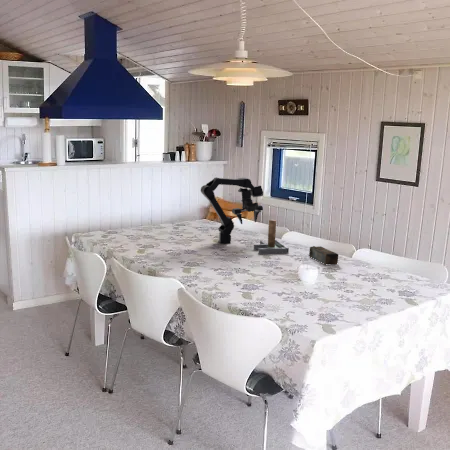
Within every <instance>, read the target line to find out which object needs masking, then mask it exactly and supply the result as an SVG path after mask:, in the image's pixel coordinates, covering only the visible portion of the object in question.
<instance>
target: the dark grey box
mask: <svg viewBox="0 0 450 450" xmlns="http://www.w3.org/2000/svg"><path fill="white" fill-rule="evenodd" d="M308 251H309V253H308V257H309V256H310V257H309V258H311V257H312V258H311V259H313V258H314V259H313V260H315V259H316V260H315V261H317V260H318V261H317V262H319V261H320V262H319V263H321V262H322V263H321V264H323V263H324V264H323V265H325V264H337V263H338V262H339V253H336V252H335V251H331V250H330V249H328V248H325V247H324V246H314V245H313V246H309V250H308ZM337 265H338V264H337Z"/></svg>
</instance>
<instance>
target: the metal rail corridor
mask: <svg viewBox="0 0 450 450" xmlns="http://www.w3.org/2000/svg"><path fill="white" fill-rule="evenodd" d="M275 245H276V246H277V247H279V248H268V243H266V242H265V241H264V240H262V239H260V240H259V243H258V244H253V250H254V251H258V252H257V254H259V255H271V254H273V255H275V254H289V253H290V252H289V250H290V249H289V247H288V246H287V245H285V244H284V243H282V242H281V241H279V240H278V239H275Z"/></svg>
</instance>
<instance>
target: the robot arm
mask: <svg viewBox="0 0 450 450" xmlns="http://www.w3.org/2000/svg"><path fill="white" fill-rule="evenodd" d="M221 185H222V186H236V187H237V186H238V187H240V188H239V189H238V192H239V193H241V202H242V203H241V204H242V206H241V208H239V207H236V208H232V209H231V213H232V214H234V215H235V216H236V217H237V219H238V220H239V223H240V224H241V225H243V217H242V213H243V212H249V213H250V212H253V217H254V218H253V220H254V222H255V223H257V220H258V216H259V214H260V213H261V212H262V211H264V208H263V205H260V204H259V203H258V202H253V199H252V197H253V198H257V197H263V196H264V191H263V188H262V185H255V186H254V185H253V183H252V180H251V179H250V178H247V177H238V178H225V177H223V178H222V177H214V178H213V179H212V180H210V181H209V182H207V183H206V184H205V185H202V186H201V188H200V193H201V194H202V195H203V196H204V197H205V198H206V199H207V200H208V201H209V204H210V205H211V207H212V208H213V210H214V211H215V213H216V214H217V216H218V217H219V220H220V224H221V225H220V226H219V227H217V228H218V231H219V237H218V238H219V239H218V242H219V243H220V244H221V245H222V244H231V243H232V235H231V234H232V231H234V228H235V222H234V221H233V219H232V217H230V216H228V215H226V214H225V212H224V210H223V209H222V207H221V205H220V203H219V201H217V199H216V195H215V192H214V191H215V190H216V189H217V188H218V186H221Z"/></svg>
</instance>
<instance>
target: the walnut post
mask: <svg viewBox="0 0 450 450" xmlns="http://www.w3.org/2000/svg"><path fill="white" fill-rule="evenodd" d="M276 232H277V220H276V219H269V220H268V231H267V244H268V247H275V240H276V235H277V234H276Z"/></svg>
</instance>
